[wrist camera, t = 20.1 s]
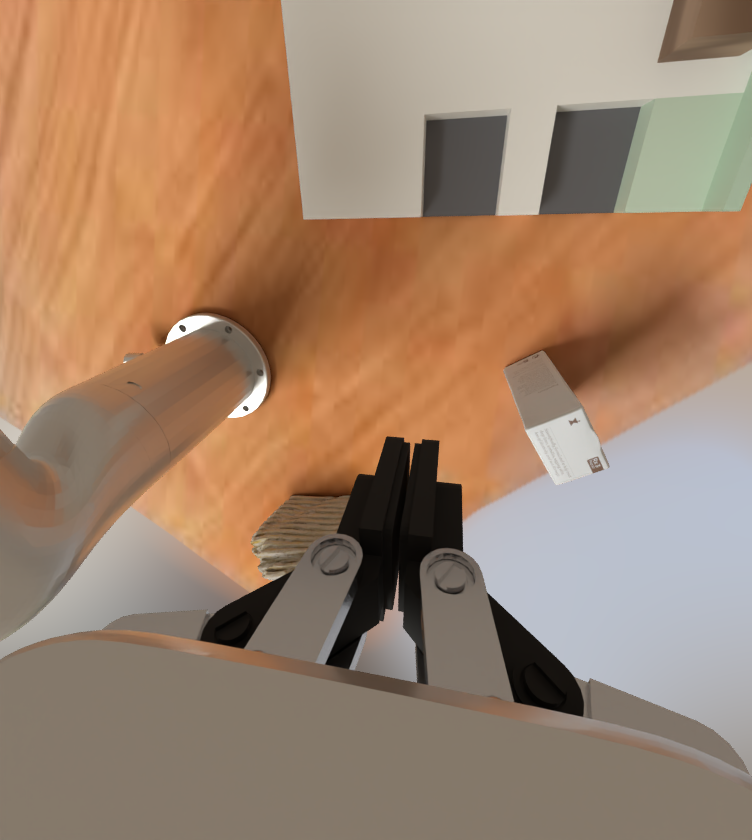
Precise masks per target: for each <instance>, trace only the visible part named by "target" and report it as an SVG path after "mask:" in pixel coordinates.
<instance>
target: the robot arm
mask: <svg viewBox="0 0 752 840" xmlns="http://www.w3.org/2000/svg"><path fill="white" fill-rule="evenodd" d="M270 383H271V374H270V367H269V364H268V361H267V357H266V356H265V354H264V352H263V350H262V348H261V346H260V345H259V343H258V342H257V341H256V339H255V338H254V337H253V336H252V335H251V334H250V333H249V332H248V331H247V330H246V329H245V328H243V327H242V326H241V325H239V324H238V323H237V322H235V321H233V320H231V319H229V318H227V317H224V316H221V315H218V314H213V313H197V314H194V315H191V316H188V317H186V318H184V319H182V320H180V321H179V322H177V323H176V324H175V325H174V326H173V327H172V329H171V330H170V332H169V334H168V337H167V340H166V344H164V345H162V346H160V347H158V348H156V349H153V350H151V351H149V352H147V353H145V354H143V353H128V354H126V355H125V357H124V363H123V364H121V365H119V366H117V367H114V368H112V369H110V370H108V371H106V372H104V373H102V374H99V375H97V376H95V377H93V378H91V379H89V380H86V381H84V382H82V383H80V384H78V385H75V386H73V387H71V388H69V389H67V390H65V391H62V392H60V393H59V394H57V395H55V396H54V397H52V398H50V399H49V400H48V401H47V402H45V403H44V404H43V405H42V406H41V407H40V408H39V409H38V410H37V411H36V412H35V413H34V414H33V415H32V417H31V418H30V420H29V421H28V423H27V424H26V426H25V427H24V429H23V431H22V433H21V435H20V437H19V439H18V441H17V443H16V445H15V444H13V443H12V442H11V441H10V440H9V439H8V437H6V435H5V434H4V433H3V432H2V431H1V430H0V641H2V640H3V639H5V638H7V637H9V636H10V635H11V634H13V633H14V632H16V631H17V630H18V629H20V628H21V627H23V626H24V625H25V624H27V623H28V622H29V621H30V620H31V619H33V618H34V617H35V616H36V615H37V614H38V613H39V612H40V611H41V610H43V609H44V607H46V605H48V604H49V603H50V602H51V601H52V600H53V599H54V597H55V596H56V595H57V594H58V593H59V592H60V591H61V589H62V588H63V587H64V586H65V585H66V583H67V582H68V581H69V580H70V579H71V577H72V576H73V575H74V573H75V572H76V571H77V569H78V568H79V567H80V565H81V564H82V563H83V561H84V560H85V559H86V558H87V556H88V555H89V553H90V552H91V551H92V550H93V548H94V547H95V546H96V544H97V543H98V542H99V541H100V539H101V538H102V537H103V535H104V534H105V533H106V532H107V531H108V530H109V529H110V528H111V526H112V525H113V524H114V523H115V522H116V521H117V519H118V518H119V517H120V516H121V515H122V514H123V513H124V512H125V511H126V510H127V509H128V508H129V507H130V506H131V505H132V504H133V503H134V502H135V501H136V500H138V499H139V498H140V497H141V496H142V495H143V494H144V493H145V492H146V491H147V490H148V489H149V488H150V487H151V486H152V485H154V484H155V483H156V482H157V481H158V480H159V479H160V478H161V477H162V476H164V475H165V474H166V473H167V472H168V471H169V470H170V469H171V468H172V467H173V466H175V465H176V464H177V463H178V462H179V461H180V460H181V459H182V458H183V457H184V456H186V455H187V454H188V453H189V452H190V451H191V450H192V449H193V448H194V447H195V446H197V445H198V444H199V443H200V442H201V441H202V440H203V439H204V438H205V437H206V436H208V435H209V434H210V433H211V432H212V431H213V430H214V429H215V428H216V427H217V426H219V425H220V424H221V423H222V422H223V421H224V420H225V419H226V418H237V417H242V416H245V415H248V414H250V413H252V412H253V411H255V410H256V409H257V408H258V407H259V406H260V405H261V404H262V403H263V402H264V400H265V399H266V397H267V395H268V392H269V389H270ZM438 453H439V441H436V440H424V439H422V444H418V443H415V447H414V453H413V459H412V464H411V470H410V476H409V469H410V443H406V442H404V438H400V437H388V436H387V437H386V440H385V443H384V447H383V450H382V453H381V457H380V460H379V463H378V466H377V470H376V473H375V475H365V474H359V475H358V476H357V479H356V481H355V484H354V487H353V489H352V492H351V495H350V498H349V500H348V503H347V506H346V508H345V511H344V514H343V517H342V519H341V522H340V525H339V527H338V530H337V533H336V534H329V535H326V536H323V537H320V538H319V539H317V540H316V541H314V542H313V543H312V544H311V545H310V546H309V548H308V549H307V550H306V552H305V553H304V555H303V557H302V558H301V560H300V561H299V563H298V564H297V566H296V568H295V569H294V570H293V571H291V572H289V573H287V574H285V575H283V576H281V577H280V578H278V579H276V580H274V581H272V582H270V583H268V584H266V585H264V586H262V587H260V588H259V589H257V590H255V591H253V592H251V593H249V594H247V595H245V596H243V597H241V598H240V599H238V600H236V601H234V602H232V603H230V604H228V605H226V606H225V607H223V608H222V609H220V610H219V611H217V612H216V613H213V614H209V612H208V610H193V611H177V612H161V613H147V614H133V615H128V616H124V617H121V618H119V619H117V620H115V621H113V622H112V623H110V624H109V625H107V626H106V627H105V628H104V629H102V630H97V631H87V632H79V633H73V634H69V635H64V636H59V637H54V638H50V639H47V640H44V641H41V642H37V643H34V644H32V645H29V646H26V647H24V648H21V649H19V650H17V651H15V652H13V653H11V654H9V655H7V656H5V657H4V658H2V659H1V660H0V840H752V776H751V775H750V774H749V772H748V770H747V768H746V766H745V764H744V762H743V760H742V759H741V758H740V757H739V755H738V754H737V753H736V752H735V750H734V749H733V748H732V747H731V745H730V744H729V743H728V742H727V741H725V740H724V739H723V738H722V737H721V736H720V735H718V734H717V733H716V732H715V731H714V730H712V729H710V728H708V727H707V726H705V725H703V724H701V723H699V722H698V721H695V720H693V719H690V718H688V717H685V716H683V715H680V714H678V713H675V712H673V711H670V710H668V709H665V708H663V707H660V706H658V705H655V704H653V703H650V702H648V701H645V700H643V699H640V698H638V697H636V696H633V695H631V694H628V693H626V692H623V691H621V690H618V689H615V688H613V687H611V686H608V685H605V684H603V683H600V682H598V681H596V680H593V679H590V680H589V682H585V681H583V680H580V679H578V678H575V677H574V676H573V675H572V674H571V672H570V671H569V670H568V669H567V668H566V667H565V665H563V664H562V663H561V662H560V661H559V660H558V659H557V658H556V657H555V656H554V655H553V654H552V653H551V652H550V651H549V650H547V648H546V647H544V646H543V645H542V644H541V643H540V642H539V641H538V640H537V639H536V638H535V637H534V636H533V635H532V634H531V633H530V632H528V631H527V630H526V629H525V628H524V627H523V626H522V625H521V624H520V623H519V622H518V621H517V620H516V619H515V618H514V617H513V616H512V615H511V614H509V613H508V612H507V611H506V610H505V609H504V608H503V607H502V606H501V605H500V604H499V603H498V602H497V601H496V600H495V599H494V598H492V597H491V596H490V595H489V594H488V593H487V591H486V587H485V583H484V579H483V575H482V572H481V570H480V567H479V565H478V564H477V563H476V561H475V560H474V559H473V558H472V557H470V556H469V555H467V554H466V553H464V552H463V527H462V485H461V484H453V483H443V482H436V481H437V467H438ZM398 573H399V599H398V603H399V604H398V611H402V612H404V618H403V628H404V629H405V630H406V632H407V633H408V634H409V636H410V637H411V638H412V640H413V641H414V642H415V643H416V647H415V650H416V651H415V653H416V670H417V683H415V682H410V681H405V680H399V679H395V678H390V677H385V676H380V675H374V674H369V673H364V672H359V671H355V668H356V665H357V663H358V660H359V657H360V654H361V652H362V649H363V646H364V644H365V641H366V636H367V631H368V630H370V629H371V628H373V627H374V626H376V625H377V624H378V623H379V621H383V620H384V614H385V609H390V610H392V609H393V605H394V598H395V592H396V585H397V579H398Z"/></svg>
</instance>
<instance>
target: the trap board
mask: <svg viewBox="0 0 752 840" xmlns="http://www.w3.org/2000/svg"><path fill="white" fill-rule="evenodd" d="M673 1H674V0H281V6H282V16H283V25H284V35H285V45H286V54H287V64H288V74H289V83H290V93H291V103H292V112H293V122H294V132H295V141H296V151H297V161H298V170H299V180H300V190H301V199H302V209H303V219H352V218H400V217H429V216H477V215H538V214H573V213H643V212H692V211H740V210H741V208H742V205H743V203H744V200H745V198H746V195H747V193H748V191H749V188H750V186H751V183H752V49H751V50H750V51H748V52H746V53H744V54H742V55H740V56H734V57H722V58H710V59H699V60H687V61H675V62H664V63H657V62H658V58H659V54H660V50H661V46H662V43H663V39H664V35H665V31H666V27H667V24H668V20H669V16H670V12H671V8H672V5H673Z"/></svg>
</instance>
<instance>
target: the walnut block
mask: <svg viewBox="0 0 752 840" xmlns="http://www.w3.org/2000/svg"><path fill="white" fill-rule="evenodd" d="M751 49H752V0H674V1H673V5H672V8H671V12H670V16H669V20H668V24H667V27H666V31H665V35H664V39H663V43H662V46H661V50H660V54H659V58H658V62H657V63H664V62H675V61H687V60H699V59H710V58H722V57H734V56H740V55H742V54H744V53H746V52H748V51H750V50H751Z"/></svg>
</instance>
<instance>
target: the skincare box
mask: <svg viewBox="0 0 752 840" xmlns="http://www.w3.org/2000/svg"><path fill="white" fill-rule="evenodd" d="M504 374H505V376H506V379H507V382H508V384H509V387H510V390H511V392H512V395H513V398H514V401H515V403H516V406H517V409H518V411H519V414H520V416H521V419H522V421H523V424H524V428H525V431H526V433H527V435H528V436H529V438H530V440H531V442H532V444H533V445H534V447H535V449H536V451H537V453H538V454H539V456H540V458H541V460H542V462H543V464H544V465H545V467H546V469H547V471H548V473H549V474H550V476H551V478H552V479H553V481H554V483H555V485H559V484H563V483H565V482H569V481H572V480H575V479H578V478H581V477H584V476H586V475H589V474H592V473H595V472H598V471H601V470H604V469H608V468H609V463H608V461H607V459H606V457H605V454H604V452H603V450H602V448H601V445H600V441H599V439H598V436H597V435H596V433H595V432H594V430H593V427H592V425H591V423H590V421H589V418H588V416H587V414H586V412H585V410H584V408H583V406H582V405H581V403H580V402H579V400H578V399H577V397H576V396H575V394H574V393H573V392H572V390H571V389H570V387H569V386H568V385H567V383H566V382H565V380H564V379H563V377H562V376H561V375H560V373H559V372H558V370H557V369H556V367H555V366H554V364H553V363H552V361H551V360H550V359H549V357H548V356H547V354H546V353H545V352H544V351H540V352H538V353H536V354H533V355H531V356H529V357H527V358H525V359H523V360H520V361H518V362H516V363H514V364H512V365H510V366H508V367H506V368H504Z"/></svg>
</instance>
